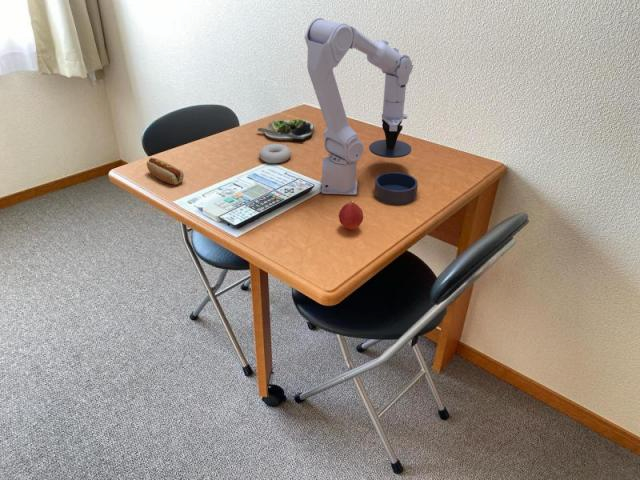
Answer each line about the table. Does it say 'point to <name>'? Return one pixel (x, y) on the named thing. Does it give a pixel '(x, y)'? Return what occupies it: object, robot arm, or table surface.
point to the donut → (275, 153)
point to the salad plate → (289, 130)
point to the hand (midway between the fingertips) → (390, 145)
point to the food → (165, 171)
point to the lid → (398, 151)
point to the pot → (395, 188)
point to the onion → (351, 215)
